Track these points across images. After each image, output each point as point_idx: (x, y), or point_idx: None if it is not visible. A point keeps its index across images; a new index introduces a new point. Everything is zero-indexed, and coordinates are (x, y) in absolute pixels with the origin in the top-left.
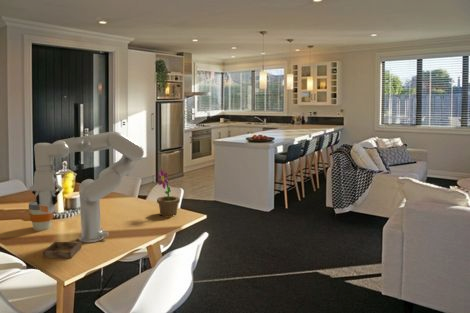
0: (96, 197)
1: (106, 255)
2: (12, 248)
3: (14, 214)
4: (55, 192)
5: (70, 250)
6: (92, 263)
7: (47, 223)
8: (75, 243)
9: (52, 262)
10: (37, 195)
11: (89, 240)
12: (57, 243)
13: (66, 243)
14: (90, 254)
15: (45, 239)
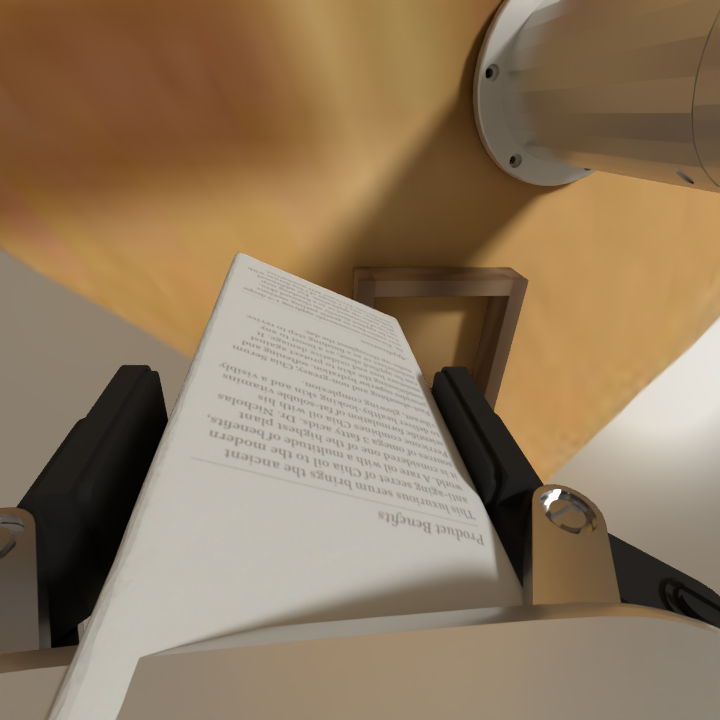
0: None
1: (632, 358)
2: (76, 291)
3: None
4: (567, 585)
5: (486, 399)
6: (570, 432)
7: None
8: (493, 294)
9: None
10: (79, 622)
11: (562, 181)
12: (380, 294)
13: (437, 294)
14: (561, 352)
15: (198, 90)
